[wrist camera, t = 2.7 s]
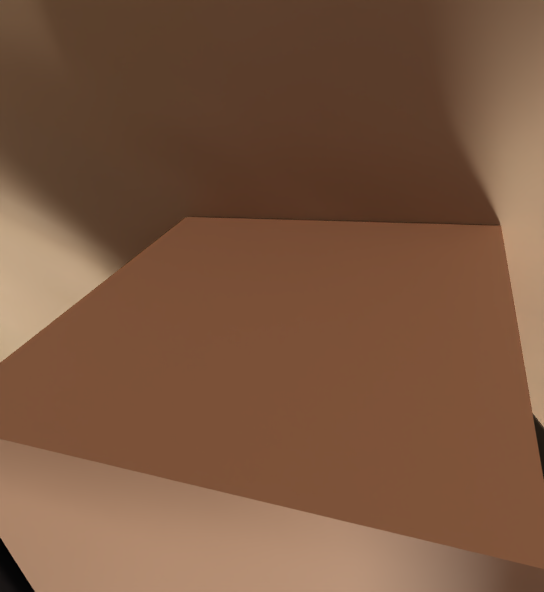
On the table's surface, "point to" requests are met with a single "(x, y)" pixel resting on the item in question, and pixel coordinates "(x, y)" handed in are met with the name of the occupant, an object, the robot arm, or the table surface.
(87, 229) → the table surface
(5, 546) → the robot arm
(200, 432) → the light brown cube
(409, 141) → the table surface
